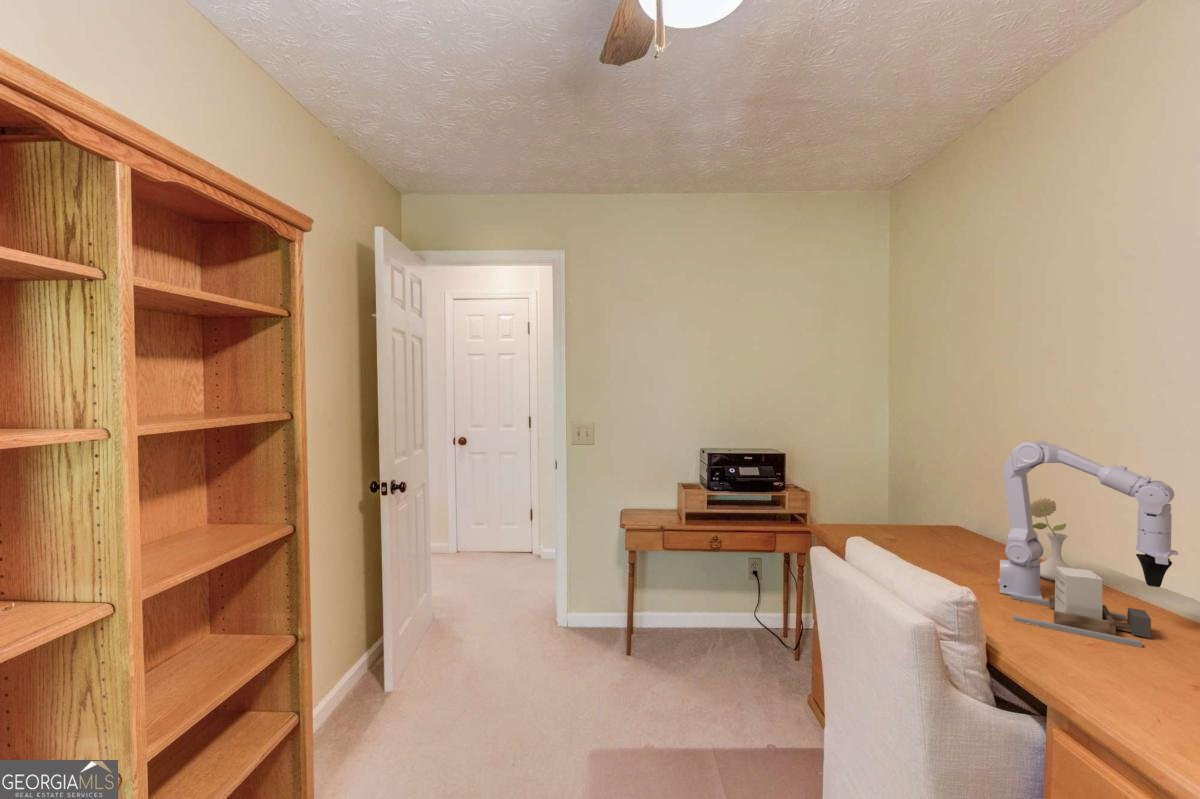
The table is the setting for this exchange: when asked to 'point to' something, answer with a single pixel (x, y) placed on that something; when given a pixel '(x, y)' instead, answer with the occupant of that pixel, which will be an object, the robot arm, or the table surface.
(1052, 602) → the bench vise
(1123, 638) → the guide rails
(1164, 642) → the table surface
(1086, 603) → the supplement box
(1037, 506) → the flower in vase
